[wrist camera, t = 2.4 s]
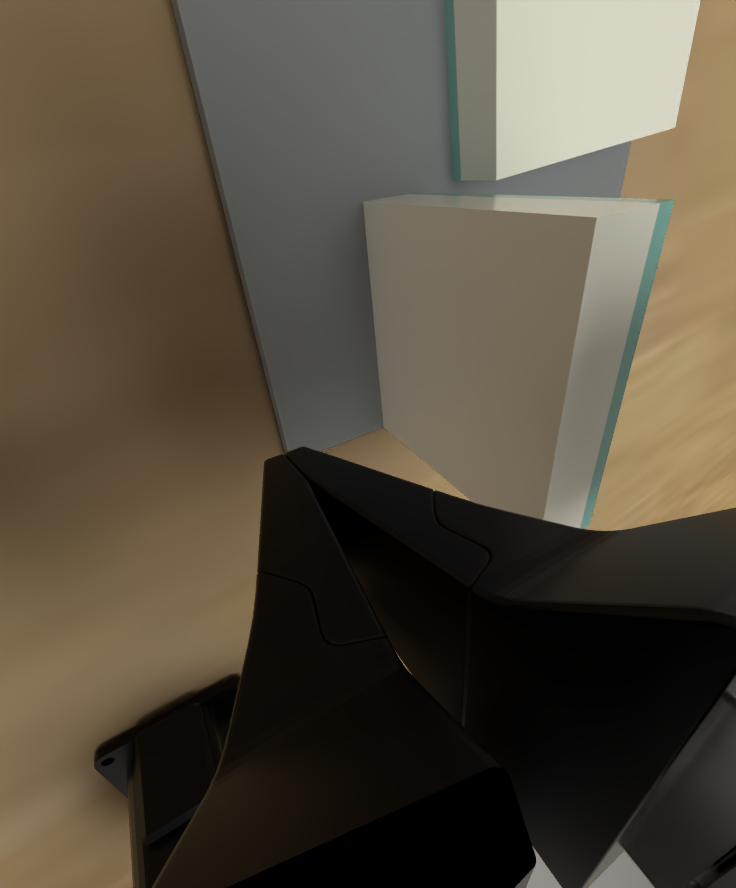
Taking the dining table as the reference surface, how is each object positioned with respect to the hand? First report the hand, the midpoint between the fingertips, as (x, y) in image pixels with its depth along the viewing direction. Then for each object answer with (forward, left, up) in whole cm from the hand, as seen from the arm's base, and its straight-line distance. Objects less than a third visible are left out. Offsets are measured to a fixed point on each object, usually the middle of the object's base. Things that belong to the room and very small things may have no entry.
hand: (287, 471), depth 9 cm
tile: (0, -6, -6) cm, 9 cm away
